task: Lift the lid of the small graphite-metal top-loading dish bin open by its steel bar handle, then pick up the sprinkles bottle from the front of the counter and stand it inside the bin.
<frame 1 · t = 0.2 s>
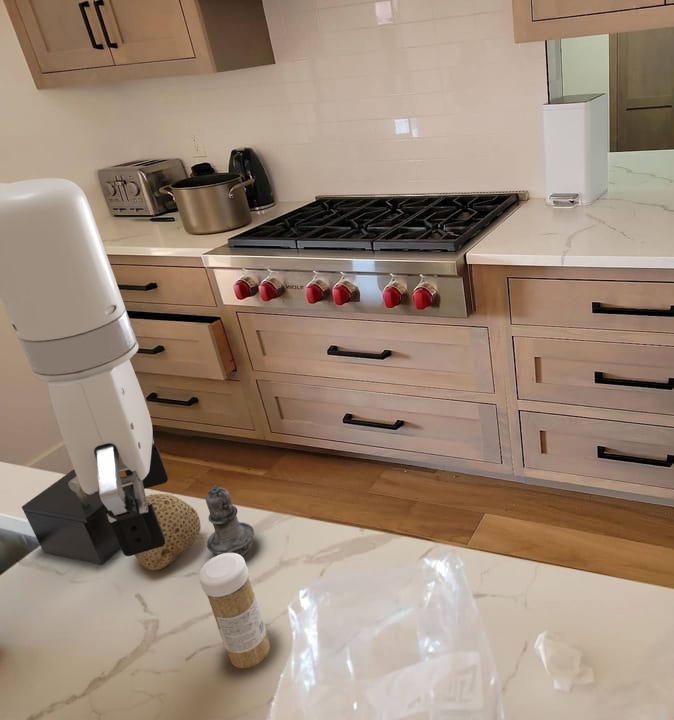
hand: (148, 515, 61), 24 cm above the countertop, tool pointing down, fingers open, 9 cm apart
sprinkles bottle: (253, 659, 75), on the countertop
bin lid: (74, 481, 90), point 11 cm above the countertop, hinge at 0.0°
grey chess piece: (237, 559, 90), on the countertop
natural sponge: (174, 560, 91), on the countertop
dish bin: (99, 543, 95), on the countertop
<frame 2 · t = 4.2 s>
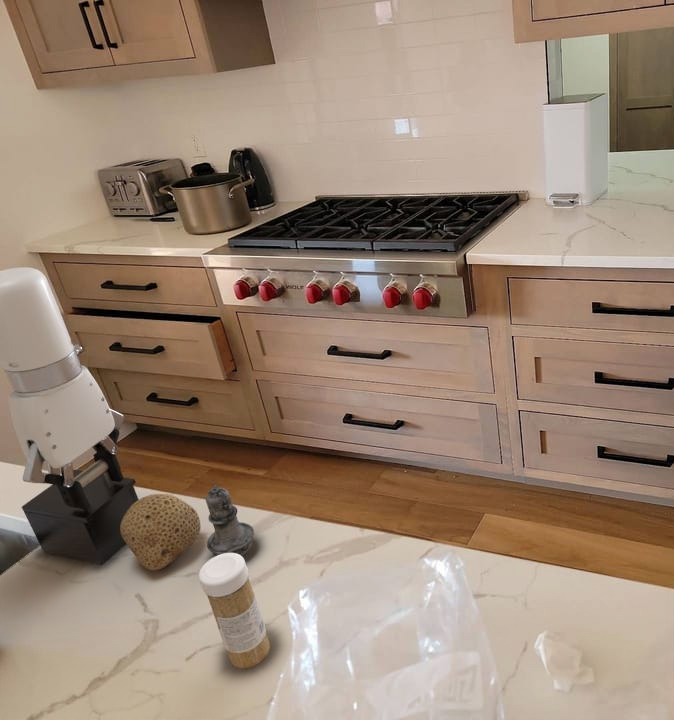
hand: (96, 491, 89), 10 cm above the countertop, tool pointing down, fingers closed on bin lid, 5 cm apart
bin lid: (74, 482, 90), point 11 cm above the countertop, hinge at 0.0°, touching gripper
everything else where it was.
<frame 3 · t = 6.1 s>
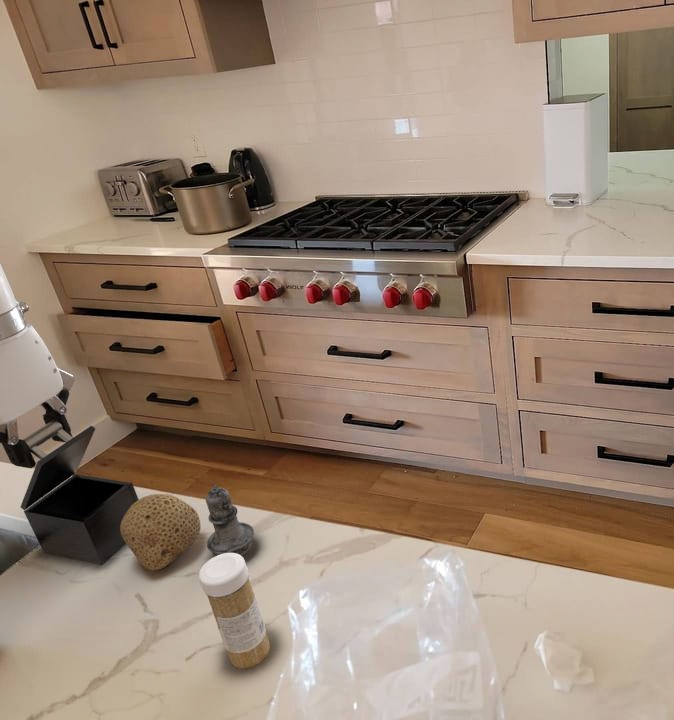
hand: (44, 451, 89), 15 cm above the countertop, tool pointing down, fingers closed on bin lid, 5 cm apart
bin lid: (45, 457, 90), point 14 cm above the countertop, hinge at 48.5°, touching gripper
everything else where it was.
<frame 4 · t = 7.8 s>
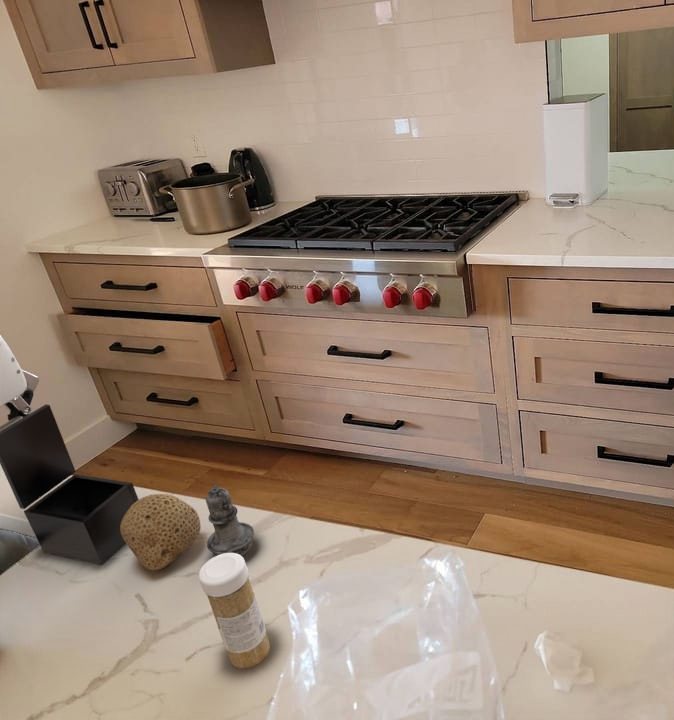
hand: (9, 450, 92), 14 cm above the countertop, tool pointing down, fingers closed on bin lid, 5 cm apart
bin lid: (23, 453, 91), point 14 cm above the countertop, hinge at 87.2°, touching gripper
everything else where it was.
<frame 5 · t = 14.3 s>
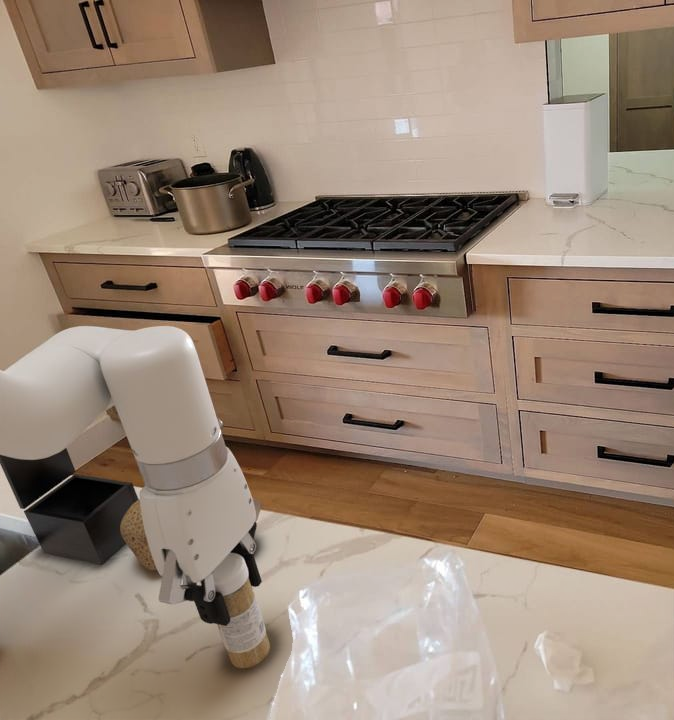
hand: (232, 600, 71), 9 cm above the countertop, tool pointing down, fingers closed on sprinkles bottle, 4 cm apart
sprinkles bottle: (253, 659, 75), on the countertop, touching gripper
bin lid: (23, 453, 91), point 14 cm above the countertop, hinge at 87.3°
everything else where it was.
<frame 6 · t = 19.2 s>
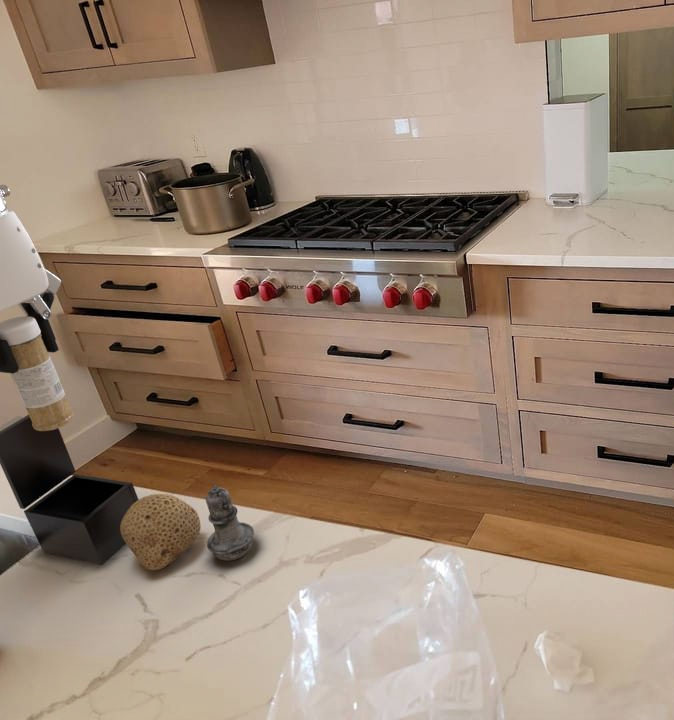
hand: (27, 359, 79), 30 cm above the countertop, tool pointing down, fingers closed on sprinkles bottle, 4 cm apart
sprinkles bottle: (55, 424, 83), point 21 cm above the countertop, touching gripper
everything else where it was.
when the fingers open (9 cm above the countertop, at t = 24.4 s): sprinkles bottle stays where it is, resting on dish bin.
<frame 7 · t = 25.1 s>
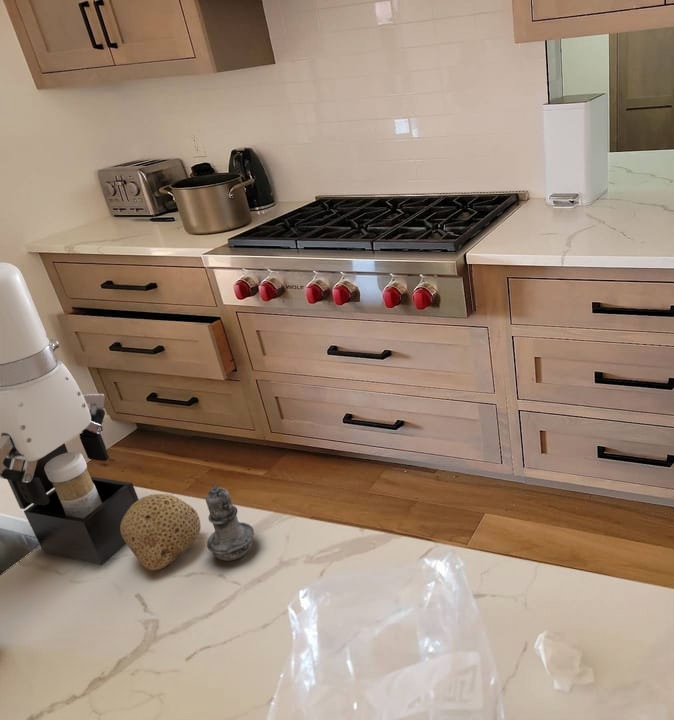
hand: (70, 479, 90), 11 cm above the countertop, tool pointing down, fingers open, 9 cm apart
sprinkles bottle: (98, 540, 95), point 1 cm above the countertop, touching dish bin
everything else where it was.
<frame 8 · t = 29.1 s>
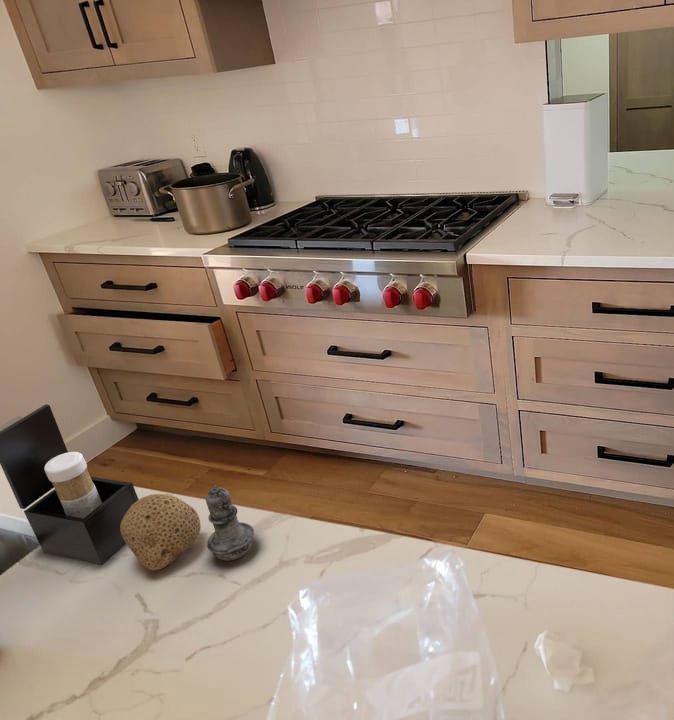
nothing on the countertop moved.
at the end: bin lid at +87° (first picture: +0°); sprinkles bottle inside the target area in the dish bin (0.0 cm from its centre), point 0.5 cm above the dish bin's base; sprinkles bottle tilted 0° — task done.
